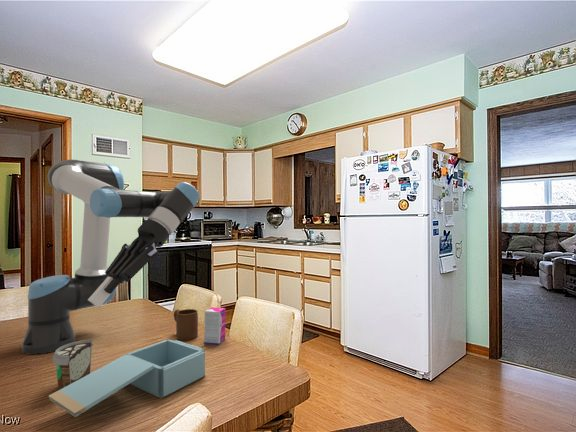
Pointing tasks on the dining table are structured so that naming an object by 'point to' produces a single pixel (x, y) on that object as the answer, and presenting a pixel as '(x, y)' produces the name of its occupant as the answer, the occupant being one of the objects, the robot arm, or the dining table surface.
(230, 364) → the dining table surface
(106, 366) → the flap
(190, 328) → the mug
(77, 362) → the food container
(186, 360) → the carton
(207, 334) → the supplement box
